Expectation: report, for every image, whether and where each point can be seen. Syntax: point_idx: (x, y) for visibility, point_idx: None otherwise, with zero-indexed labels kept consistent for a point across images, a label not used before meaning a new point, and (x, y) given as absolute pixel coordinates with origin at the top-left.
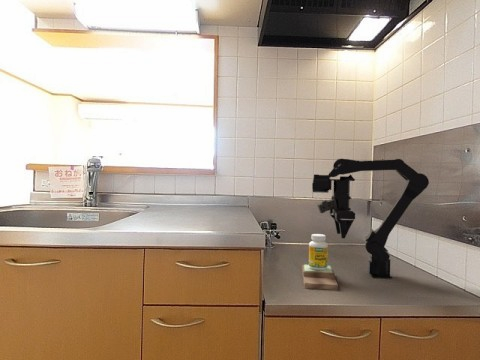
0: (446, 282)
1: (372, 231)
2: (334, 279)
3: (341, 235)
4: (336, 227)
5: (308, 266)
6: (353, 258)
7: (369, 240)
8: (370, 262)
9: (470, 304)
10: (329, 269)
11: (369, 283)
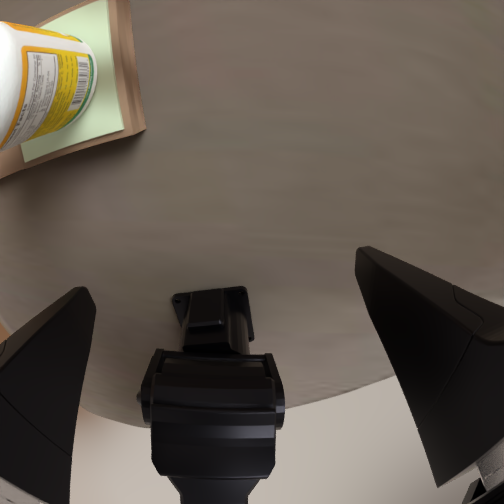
0: None
1: (160, 472)
2: (20, 166)
3: (56, 301)
4: (395, 282)
5: (71, 31)
6: (453, 244)
7: (150, 417)
8: (187, 327)
9: (87, 409)
10: (53, 140)
11: (97, 277)
